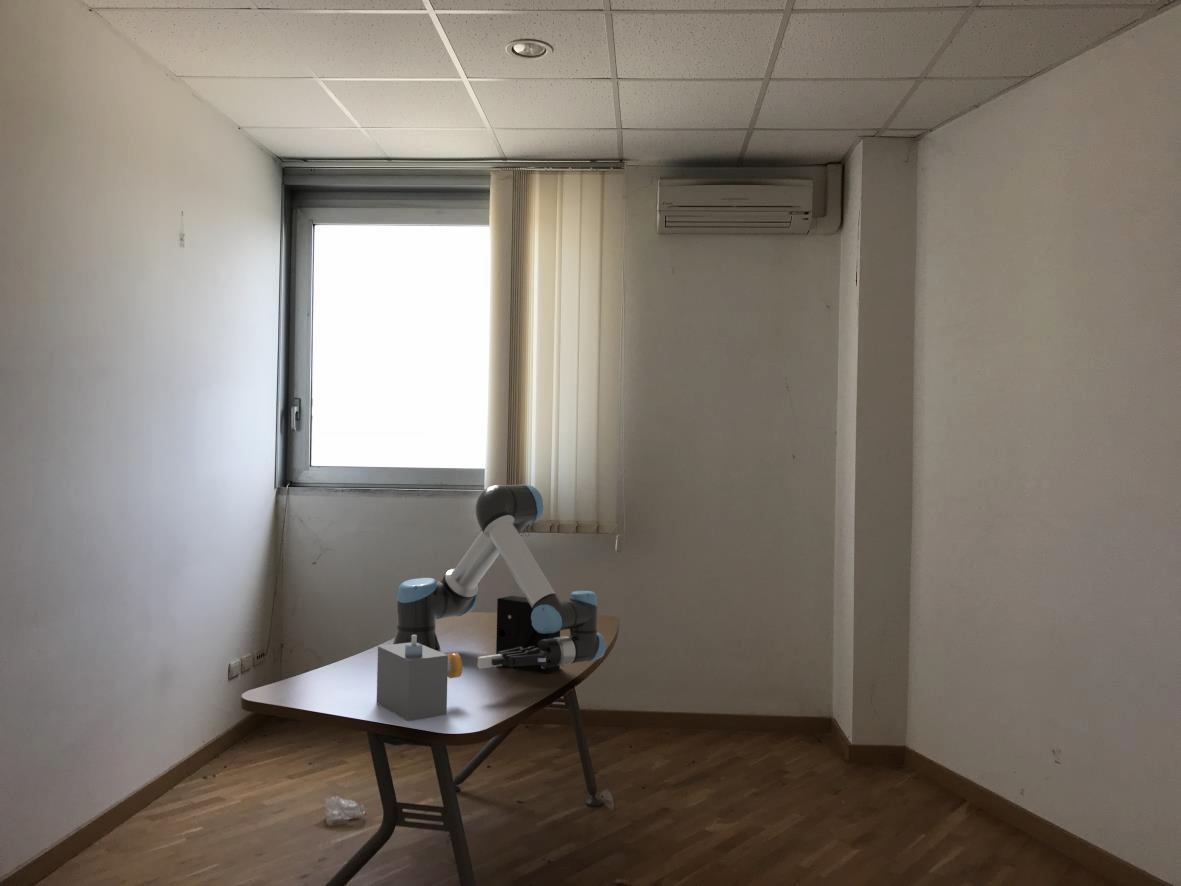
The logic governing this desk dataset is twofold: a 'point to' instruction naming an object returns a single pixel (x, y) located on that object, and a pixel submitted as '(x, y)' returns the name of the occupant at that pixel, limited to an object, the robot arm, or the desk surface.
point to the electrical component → (519, 630)
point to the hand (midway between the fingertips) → (479, 662)
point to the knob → (454, 665)
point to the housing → (412, 682)
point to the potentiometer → (413, 648)
